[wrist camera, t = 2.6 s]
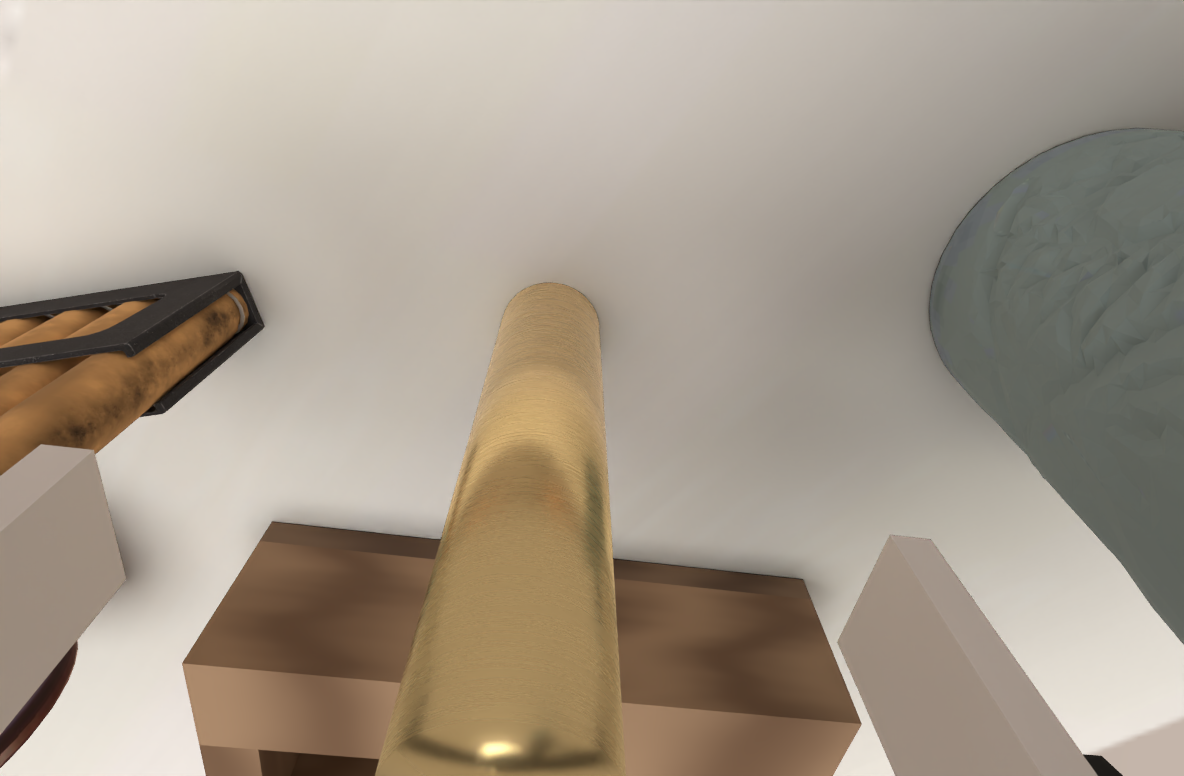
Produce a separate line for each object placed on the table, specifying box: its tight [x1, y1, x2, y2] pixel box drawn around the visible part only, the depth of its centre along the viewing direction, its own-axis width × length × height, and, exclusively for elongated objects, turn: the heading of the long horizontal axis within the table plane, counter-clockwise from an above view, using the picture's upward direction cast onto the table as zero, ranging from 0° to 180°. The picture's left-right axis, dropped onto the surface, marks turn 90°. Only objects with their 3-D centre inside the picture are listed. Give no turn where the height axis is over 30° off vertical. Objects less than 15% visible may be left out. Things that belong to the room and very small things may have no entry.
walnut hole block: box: [182, 522, 861, 776], centre depth 24 cm, size 20×12×6 cm, turn 81°
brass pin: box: [375, 283, 626, 776], centre depth 14 cm, size 3×3×14 cm
